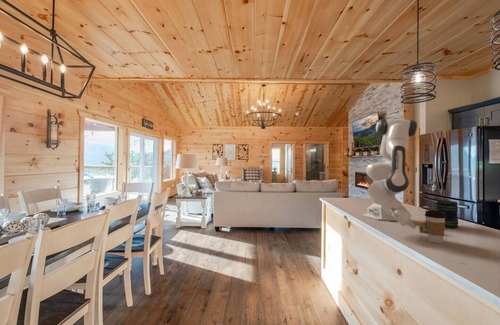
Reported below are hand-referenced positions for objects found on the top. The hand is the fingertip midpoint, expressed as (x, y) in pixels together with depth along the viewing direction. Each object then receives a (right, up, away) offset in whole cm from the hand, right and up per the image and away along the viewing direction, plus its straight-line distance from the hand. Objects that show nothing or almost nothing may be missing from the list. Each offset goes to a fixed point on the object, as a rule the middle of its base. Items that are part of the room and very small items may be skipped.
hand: (415, 227), depth 123 cm
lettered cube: (+13, -5, +10) cm, 17 cm away
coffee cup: (+7, -5, -5) cm, 10 cm away
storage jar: (+34, -5, +20) cm, 40 cm away
